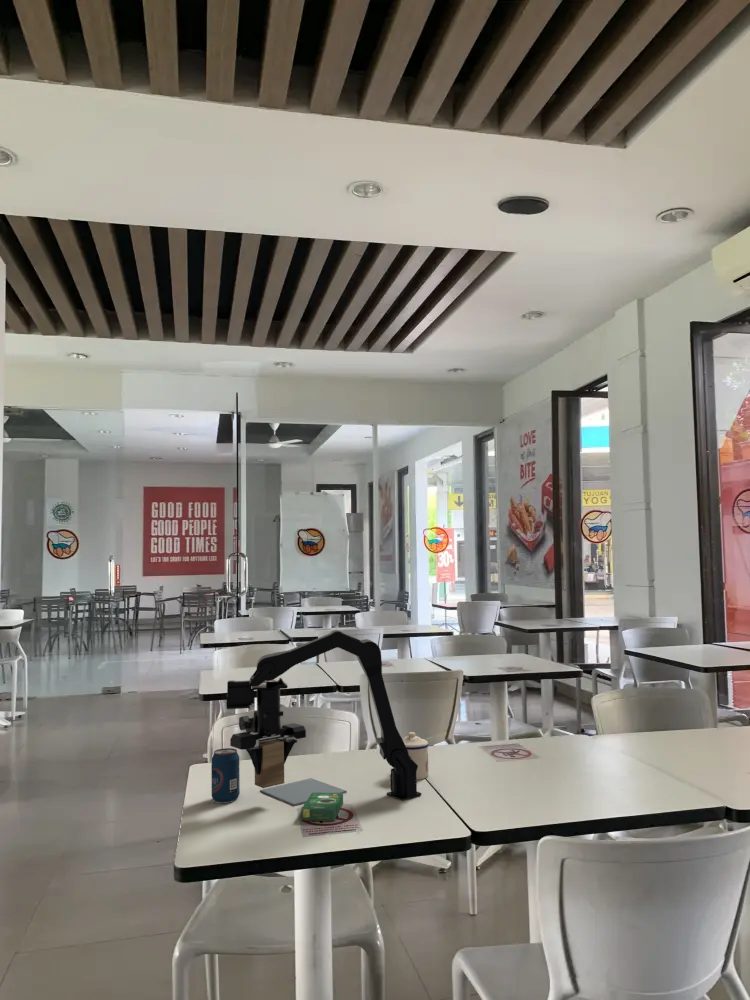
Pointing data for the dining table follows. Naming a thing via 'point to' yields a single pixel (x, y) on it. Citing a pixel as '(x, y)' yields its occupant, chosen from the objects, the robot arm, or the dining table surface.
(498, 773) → the dining table surface
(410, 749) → the teacup with lid
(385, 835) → the dining table surface
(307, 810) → the coffee box
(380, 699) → the robot arm
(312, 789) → the slate mat
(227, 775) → the soda can
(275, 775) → the brown wooden block
